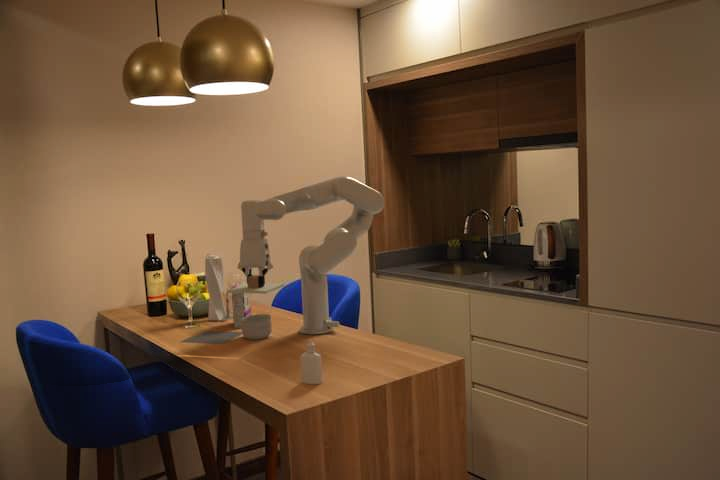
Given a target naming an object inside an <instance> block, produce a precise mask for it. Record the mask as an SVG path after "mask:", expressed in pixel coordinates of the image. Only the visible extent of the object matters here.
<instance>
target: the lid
mask: <svg viewBox="0 0 720 480" xmlns="http://www.w3.org/2000/svg"><path fill="white" fill-rule="evenodd" d="M252 275H253V276H250V277H248V284H244V285H241V286H238V287H235V288H233V289H231V288H230V289H228V290H227V289H226V292H227V293H228V294H232V293H250V294H263V295H264V294H268V293H271V292H274V291H277V290H278V289H281V288H284V287H285V283H265V284H264V287H261V288H259V282H258V276H259V274H252ZM227 293H226V294H227Z"/></svg>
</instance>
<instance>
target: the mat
mask: <svg viewBox="0 0 720 480" xmlns="http://www.w3.org/2000/svg"><path fill="white" fill-rule="evenodd" d="M242 335H243V333H242V331H225V330H223V331H221V330H220V331H219V330H204V331H202V332H201V331H200V332H199V333H196V334H195V335H192V336H190V337H188V338H185V339H183V340H181V341H180V343H192V344H210V345H212V344H213V345H214V344H215V345H216V344H217V345H224V344H226V343H228V342H229V341H232V340H233V339H236V338H238V337H240V336H242Z"/></svg>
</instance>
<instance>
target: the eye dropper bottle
mask: <svg viewBox="0 0 720 480" xmlns="http://www.w3.org/2000/svg"><path fill="white" fill-rule="evenodd" d="M300 373H301V374H300V375H301V382H302V383H303V384H306V385H320V384H321V383H322V382H323V365H322V356H321V354H320V353H318V352H316V345H315V343H313V341H312V339H308V343H307V344H306V345H305V352H304V353H302V354H301V356H300Z"/></svg>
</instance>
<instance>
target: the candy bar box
mask: <svg viewBox="0 0 720 480" xmlns="http://www.w3.org/2000/svg"><path fill="white" fill-rule="evenodd" d="M244 284H247V281H246V282H244V281H243V282H241V281H240V282H236V283H235V284H234V285H233V286H232V287H231V288H230V289H233V288H235V287H238V286H241V285H244ZM250 294H251V293H231V301H232V303H231V304H232V318H233V319H232V320H233V329H242V327H241V321H240V319H241V318H243V317H246V316H250V315H252V311H251V309H252V308H251V297H250V296H251V295H250Z"/></svg>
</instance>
